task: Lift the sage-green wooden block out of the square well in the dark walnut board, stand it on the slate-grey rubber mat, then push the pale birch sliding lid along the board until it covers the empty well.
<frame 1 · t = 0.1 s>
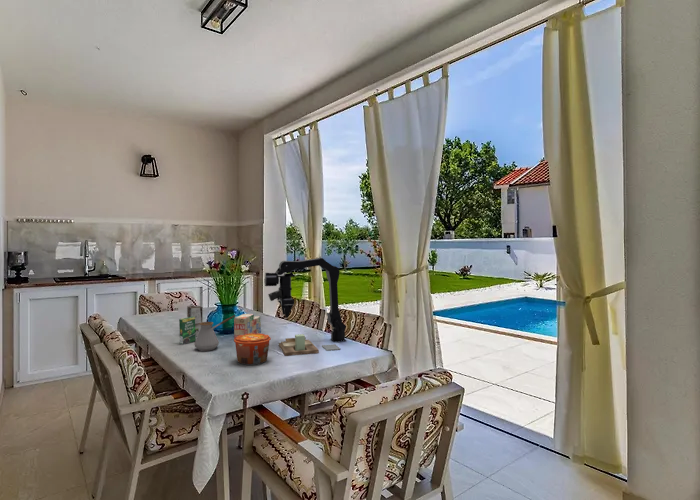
hand: (285, 316, 218), 15 cm above the table, tool pointing down, fingers open, 9 cm apart
sage block: (300, 351, 205), resting in well board
rubber mat: (331, 348, 212), on the table
well board: (298, 349, 210), on the table
food container: (252, 361, 191), on the table
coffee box: (194, 335, 239), on the table
sliding lid: (296, 341, 213), point 3 cm above the table, slide at 0.0 cm
stack of blocks: (248, 336, 238), on the table
coffee pot: (216, 347, 213), on the table
coffee box 2: (187, 343, 222), on the table
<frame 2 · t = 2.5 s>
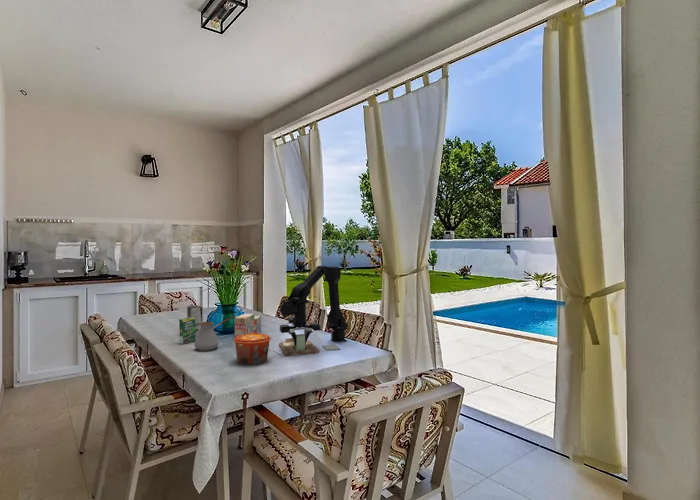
hand: (300, 345, 205), 3 cm above the table, tool pointing down, fingers closed on sage block, 4 cm apart
sage block: (300, 351, 205), resting in well board, touching gripper
when the fingers open (5 cm above the table, at t = 7.5 s): sage block drops 1 cm, resting on rubber mat.
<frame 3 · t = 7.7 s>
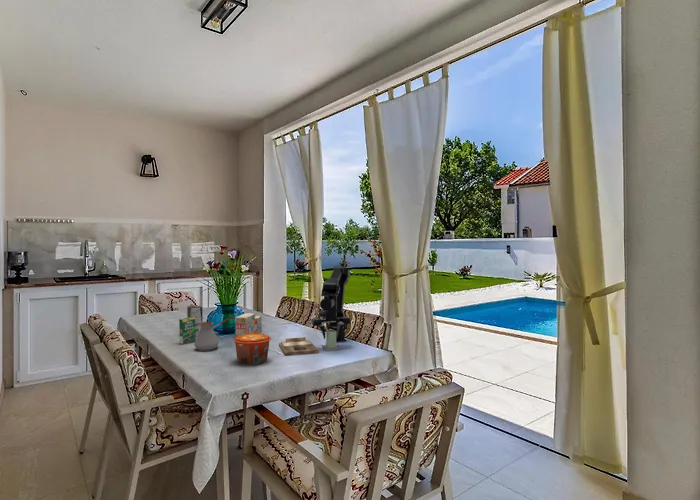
hand: (331, 338, 212), 5 cm above the table, tool pointing down, fingers open, 6 cm apart
sage block: (331, 346, 212), point 1 cm above the table, touching rubber mat
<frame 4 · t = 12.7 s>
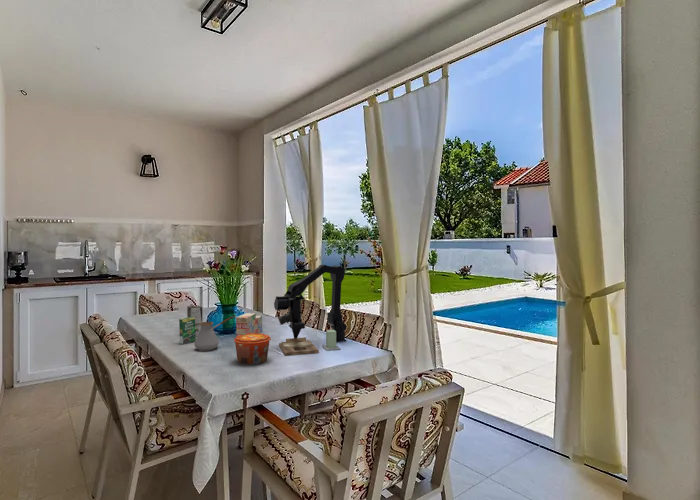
hand: (295, 339, 216), 3 cm above the table, tool pointing down, fingers closed
sliding lid: (296, 342, 212), point 3 cm above the table, slide at 0.8 cm, touching gripper
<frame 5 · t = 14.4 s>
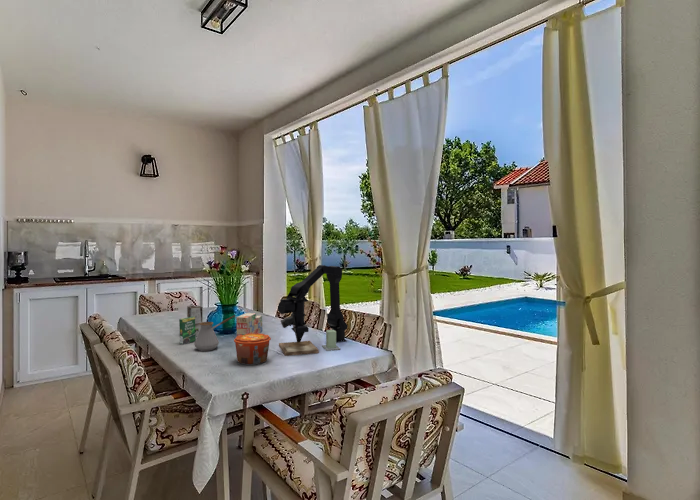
hand: (298, 343, 209), 3 cm above the table, tool pointing down, fingers closed
sliding lid: (300, 346, 205), point 3 cm above the table, slide at 8.7 cm, touching gripper
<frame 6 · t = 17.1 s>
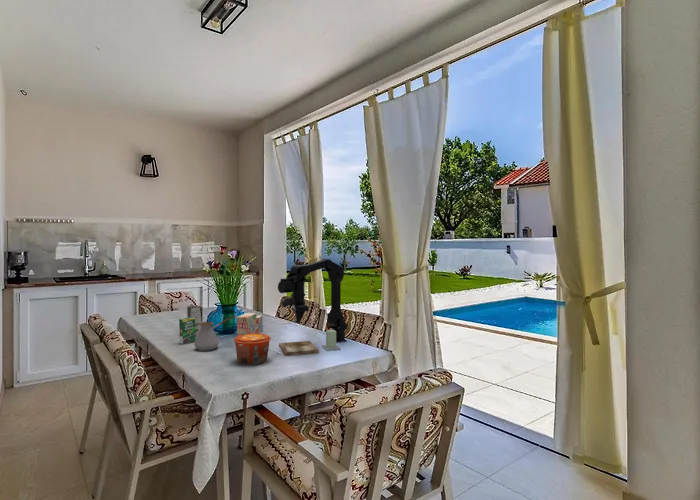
hand: (298, 323, 208), 13 cm above the table, tool pointing down, fingers closed
sliding lid: (300, 346, 205), point 3 cm above the table, slide at 8.9 cm
at the end: sage block 0.0 cm off-centre on the rubber mat, point 0.6 cm above the rubber mat's base; sage block tilted 0°; sliding lid slide at 8.9 cm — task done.
